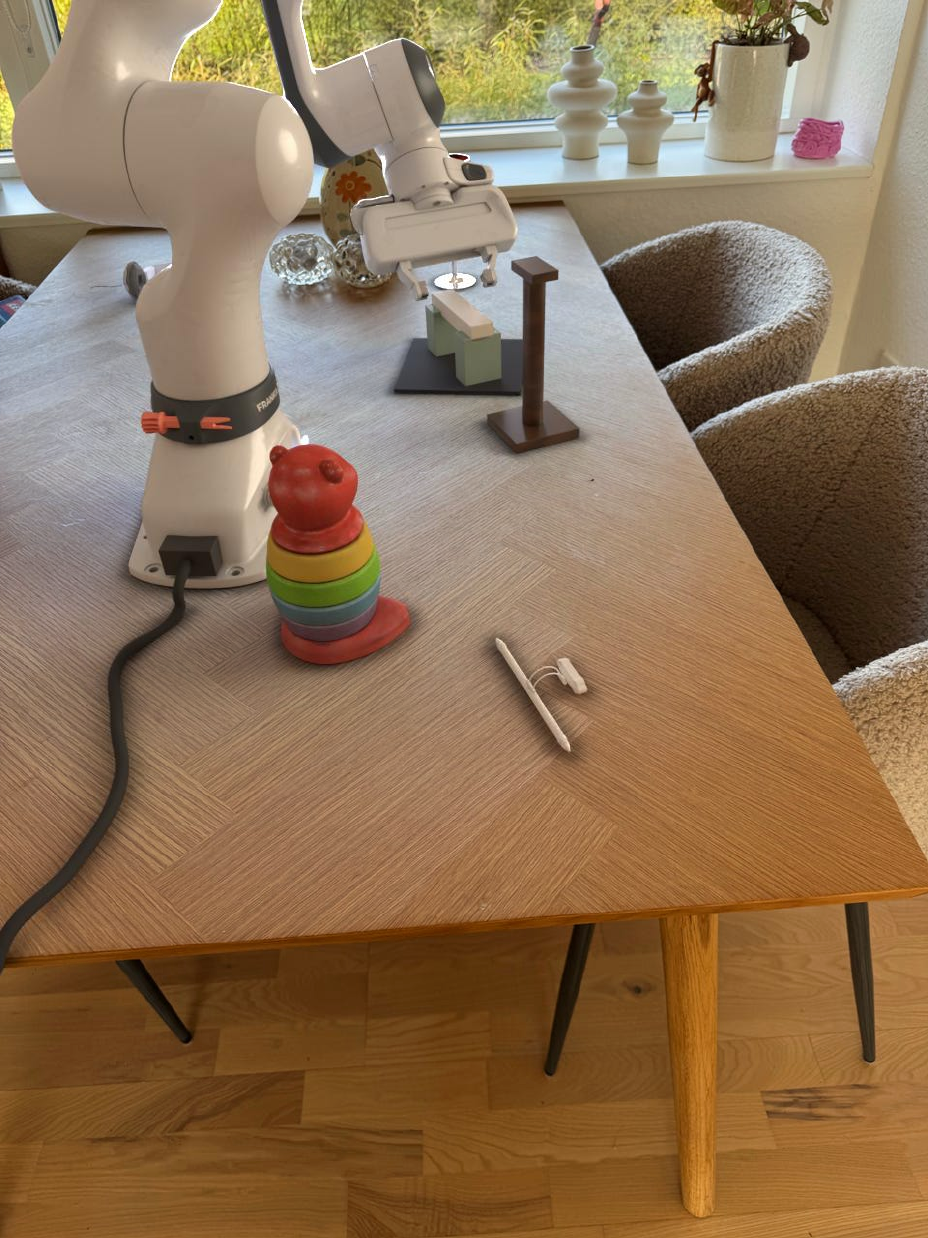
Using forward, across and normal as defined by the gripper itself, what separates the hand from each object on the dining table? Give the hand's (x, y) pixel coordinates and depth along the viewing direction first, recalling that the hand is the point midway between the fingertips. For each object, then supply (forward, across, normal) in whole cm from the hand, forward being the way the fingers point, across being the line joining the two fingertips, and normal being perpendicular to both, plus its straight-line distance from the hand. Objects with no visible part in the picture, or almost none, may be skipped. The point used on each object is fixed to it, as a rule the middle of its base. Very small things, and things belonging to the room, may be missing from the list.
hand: (457, 291), depth 117 cm
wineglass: (-13, +11, +26) cm, 31 cm away
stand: (+22, 0, -8) cm, 23 cm away
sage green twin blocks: (+7, 0, +5) cm, 9 cm away
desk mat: (+8, 0, +6) cm, 10 cm away
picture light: (+50, -18, -36) cm, 64 cm away
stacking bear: (+39, -31, -26) cm, 56 cm away
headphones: (-26, -30, +39) cm, 56 cm away
